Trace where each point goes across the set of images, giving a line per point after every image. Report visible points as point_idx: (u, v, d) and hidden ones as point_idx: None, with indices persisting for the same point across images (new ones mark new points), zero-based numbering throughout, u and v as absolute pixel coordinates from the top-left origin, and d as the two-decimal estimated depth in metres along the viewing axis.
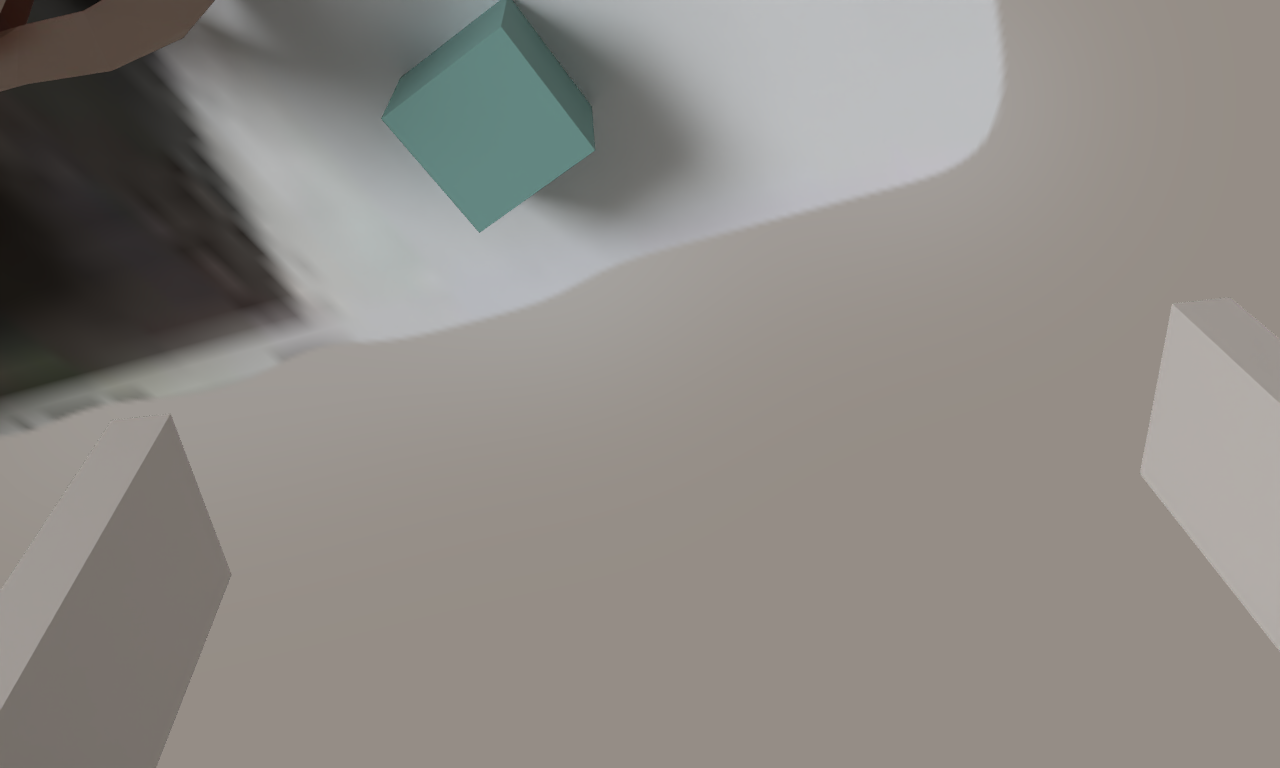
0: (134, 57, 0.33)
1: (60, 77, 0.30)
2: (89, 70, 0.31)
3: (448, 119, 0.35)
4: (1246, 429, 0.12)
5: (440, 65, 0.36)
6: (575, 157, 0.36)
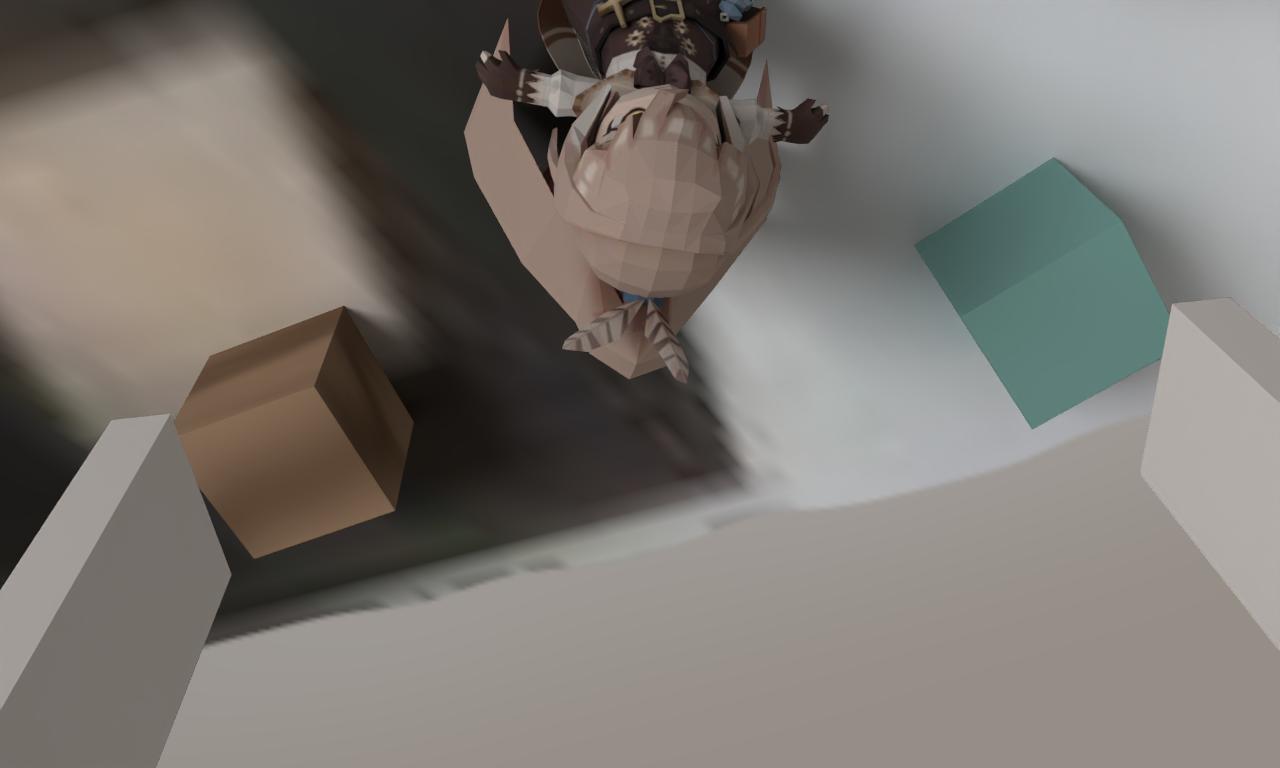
0: (727, 267, 0.29)
1: (693, 311, 0.26)
2: (704, 294, 0.27)
3: (1033, 316, 0.31)
4: (1246, 429, 0.12)
5: (1017, 252, 0.32)
6: (1161, 352, 0.32)
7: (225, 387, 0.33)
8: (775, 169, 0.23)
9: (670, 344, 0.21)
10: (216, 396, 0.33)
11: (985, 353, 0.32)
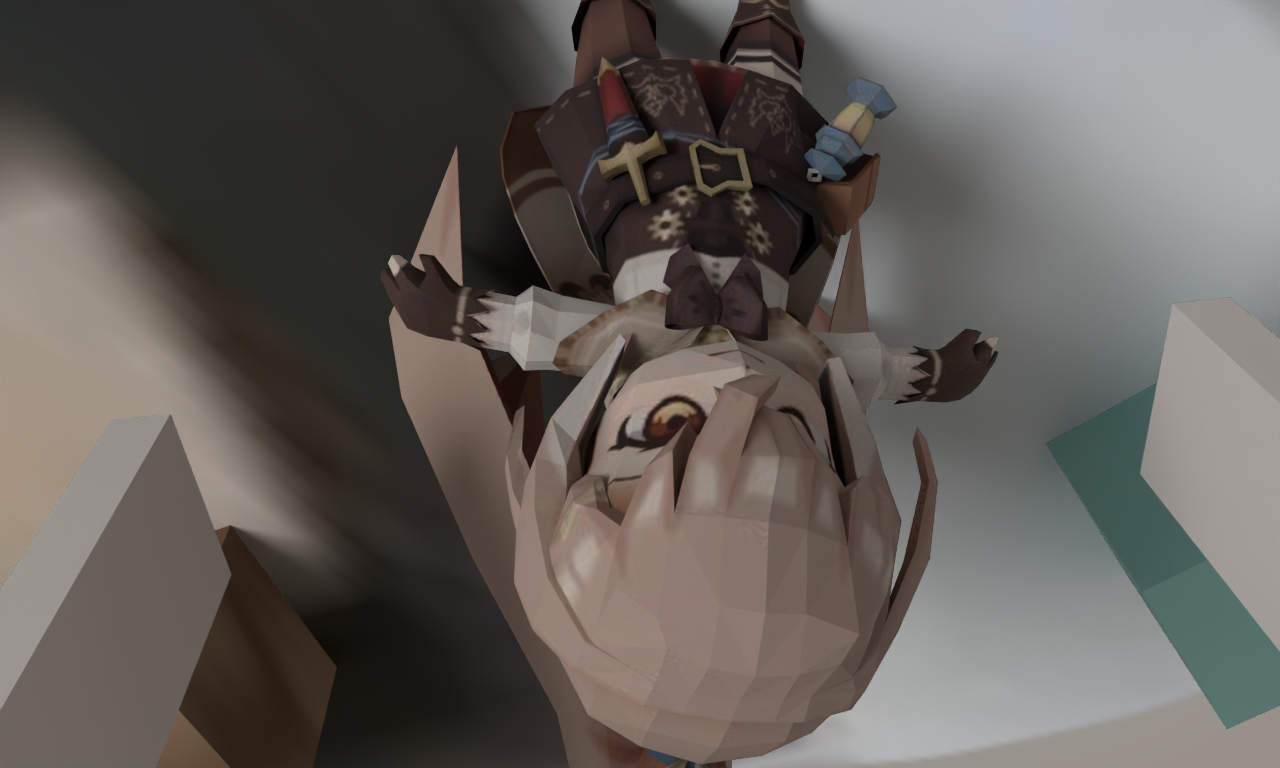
0: None
1: None
2: None
3: None
4: (1247, 429, 0.12)
5: None
6: None
7: None
8: (928, 491, 0.12)
9: None
10: None
11: (1172, 636, 0.21)
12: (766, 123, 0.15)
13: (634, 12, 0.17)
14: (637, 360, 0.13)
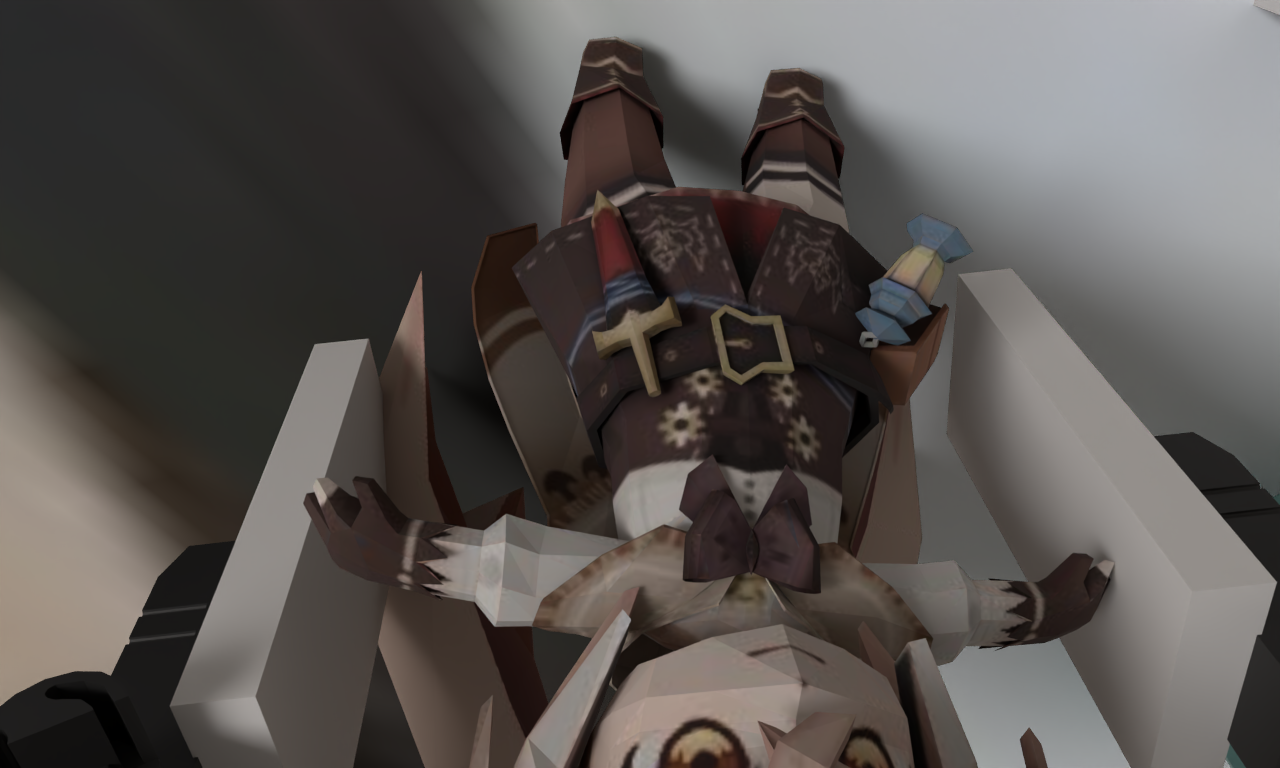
0: None
1: None
2: None
3: None
4: (1004, 385, 0.14)
5: None
6: None
7: None
8: None
9: None
10: None
11: None
12: (808, 277, 0.11)
13: (637, 116, 0.14)
14: (646, 620, 0.10)
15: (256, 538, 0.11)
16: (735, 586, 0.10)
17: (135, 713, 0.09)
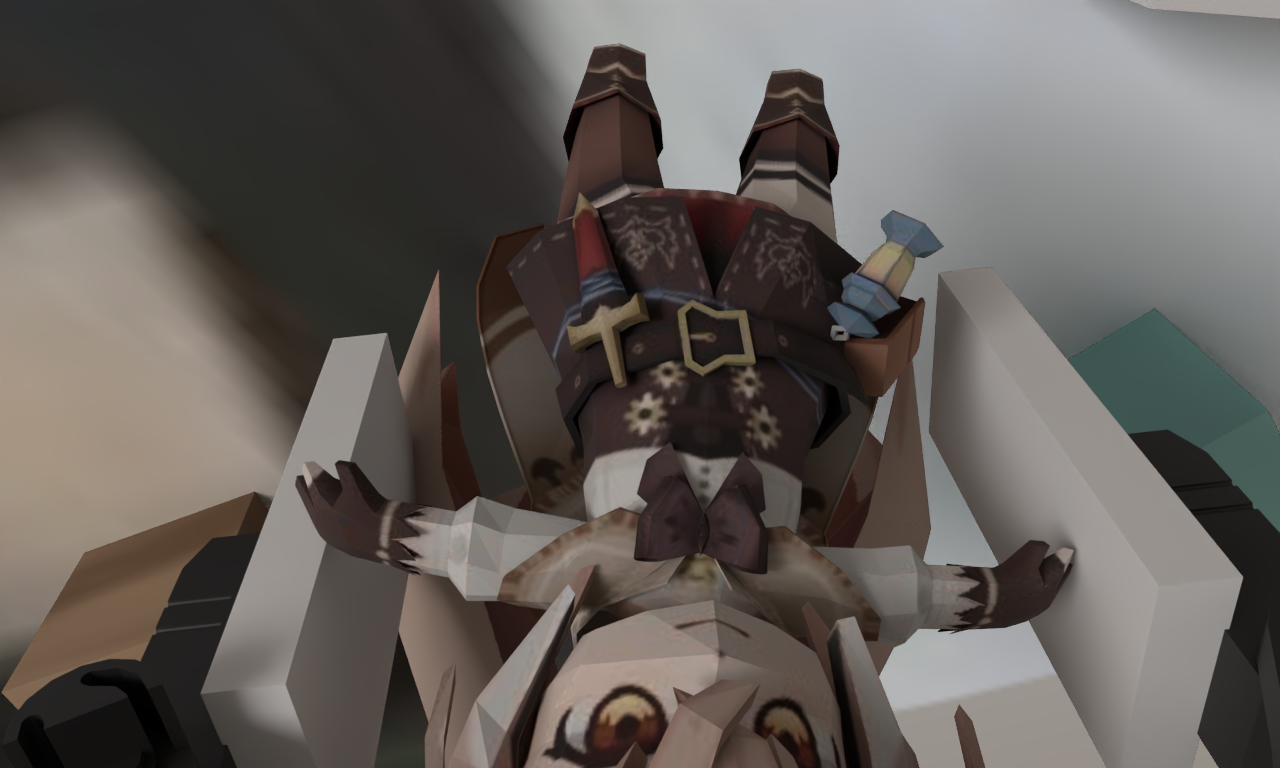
0: None
1: None
2: None
3: None
4: (982, 383, 0.14)
5: None
6: None
7: (92, 608, 0.26)
8: None
9: None
10: (80, 621, 0.25)
11: None
12: (777, 273, 0.12)
13: (634, 120, 0.15)
14: (602, 596, 0.10)
15: (281, 529, 0.11)
16: (687, 566, 0.10)
17: (168, 701, 0.09)
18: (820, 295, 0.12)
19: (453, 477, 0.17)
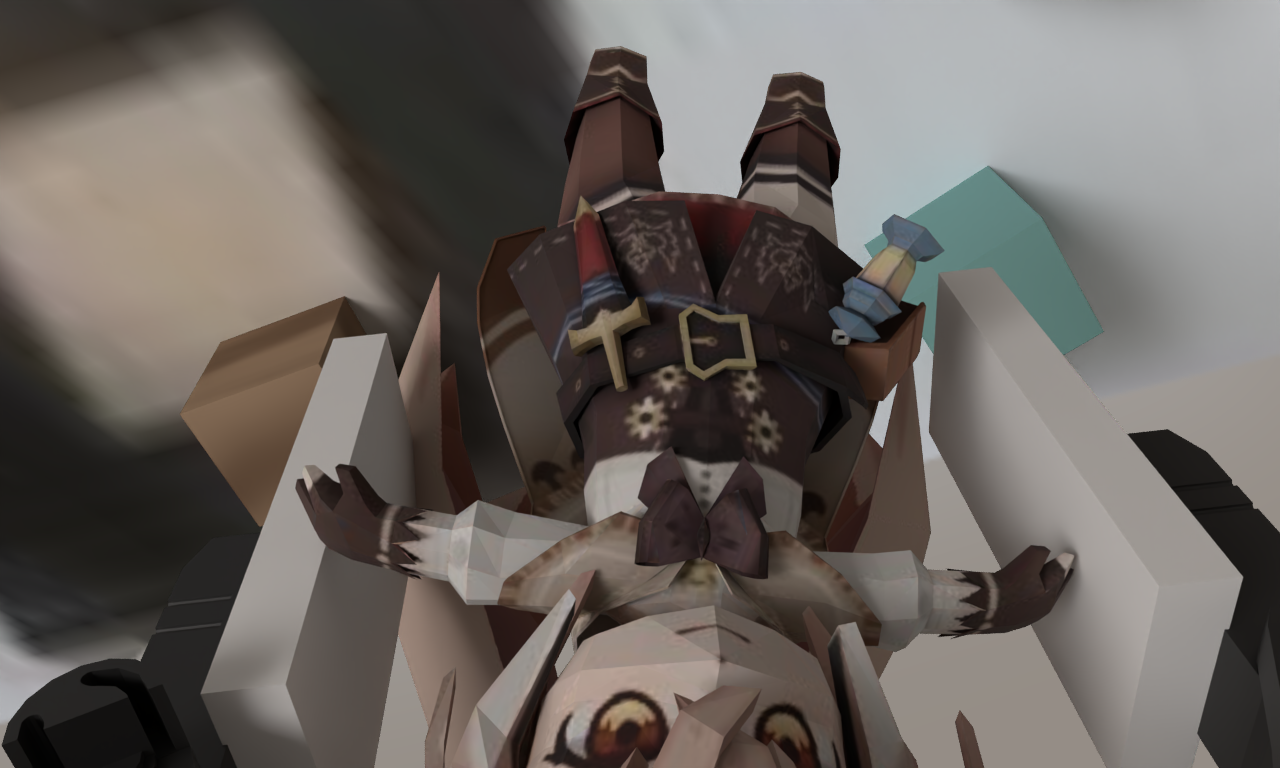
0: None
1: None
2: None
3: None
4: (982, 383, 0.14)
5: (952, 248, 0.35)
6: (1082, 338, 0.36)
7: (235, 367, 0.37)
8: None
9: None
10: (228, 375, 0.36)
11: (925, 338, 0.35)
12: (779, 277, 0.12)
13: (635, 123, 0.15)
14: (603, 601, 0.10)
15: (281, 529, 0.11)
16: (687, 571, 0.10)
17: (168, 701, 0.09)
18: (821, 299, 0.12)
19: (453, 479, 0.17)
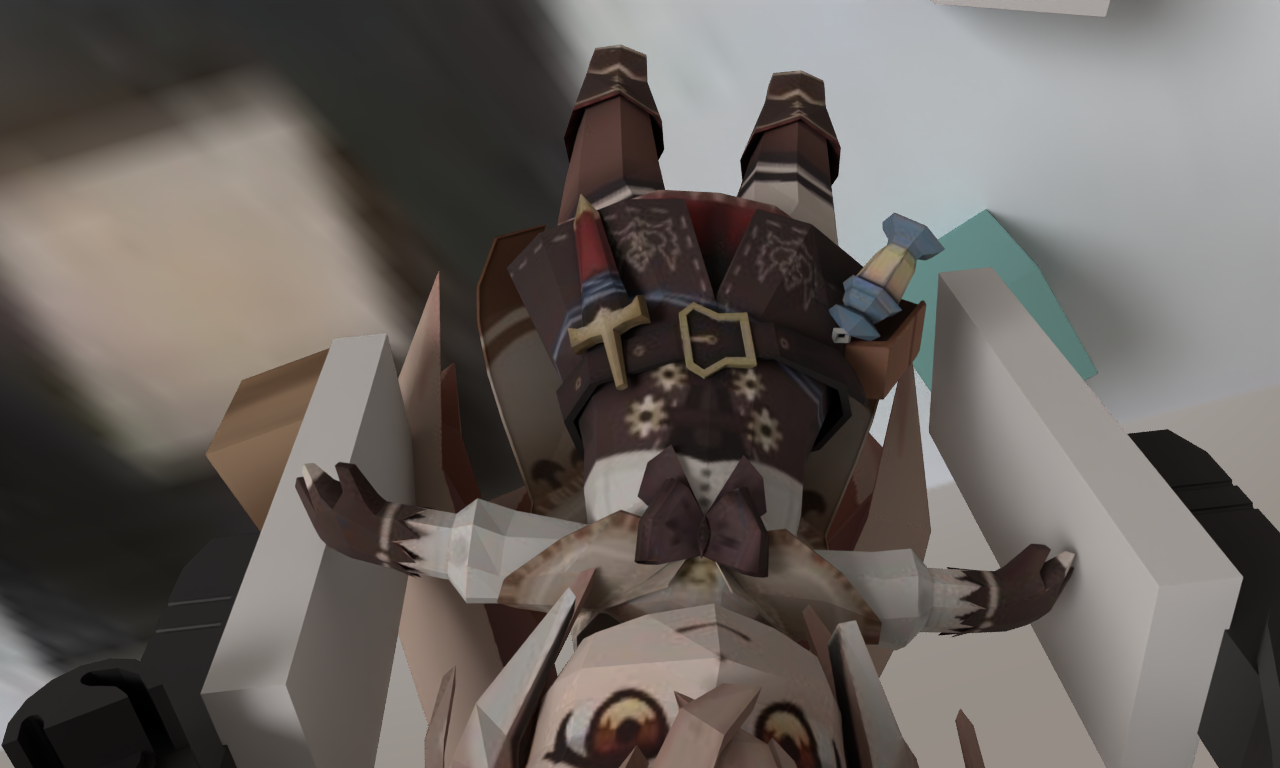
0: None
1: None
2: None
3: None
4: (982, 383, 0.14)
5: None
6: None
7: (258, 407, 0.38)
8: None
9: None
10: (251, 415, 0.38)
11: (924, 380, 0.37)
12: (779, 276, 0.12)
13: (635, 121, 0.15)
14: (603, 599, 0.10)
15: (281, 529, 0.11)
16: (687, 569, 0.10)
17: (168, 701, 0.09)
18: (821, 297, 0.12)
19: (453, 478, 0.17)
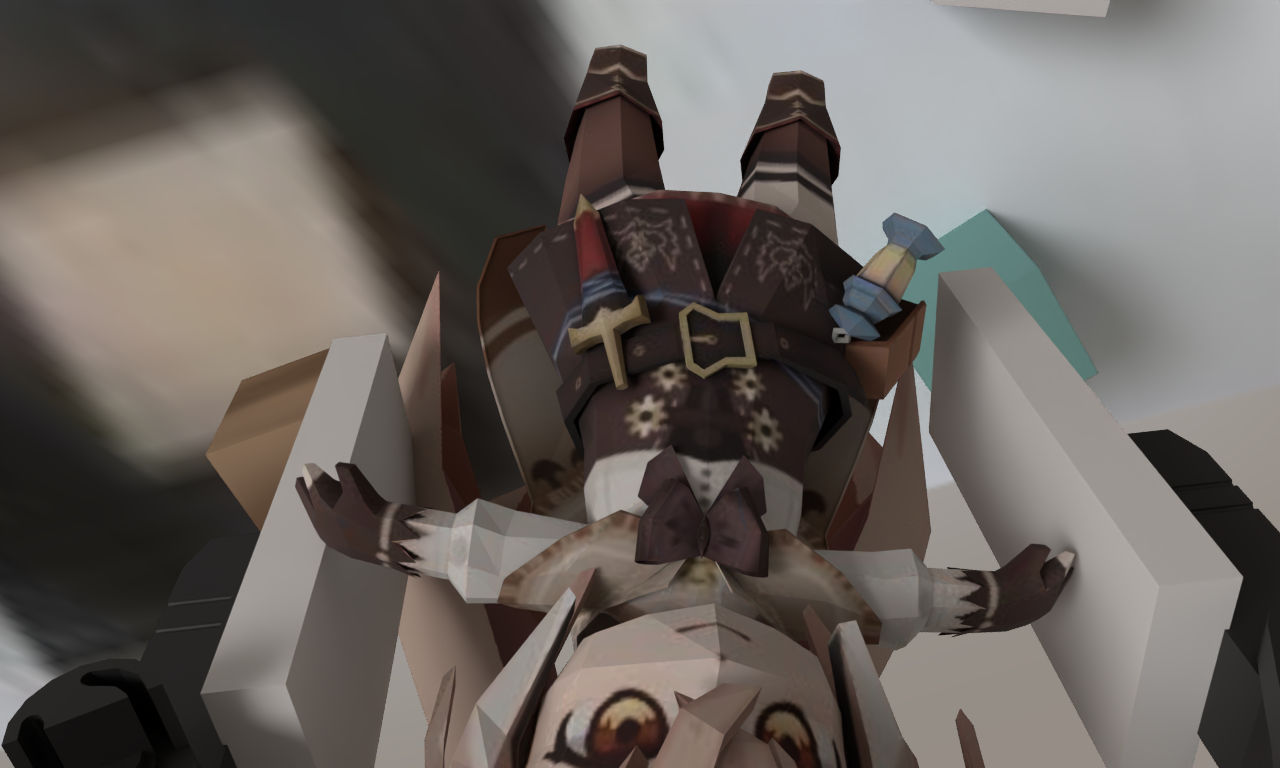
0: None
1: None
2: None
3: None
4: (982, 383, 0.14)
5: None
6: None
7: (258, 407, 0.38)
8: None
9: None
10: (251, 415, 0.38)
11: (924, 380, 0.37)
12: (779, 276, 0.12)
13: (635, 121, 0.15)
14: (603, 599, 0.10)
15: (281, 529, 0.11)
16: (687, 569, 0.10)
17: (168, 701, 0.09)
18: (821, 297, 0.12)
19: (453, 478, 0.17)
